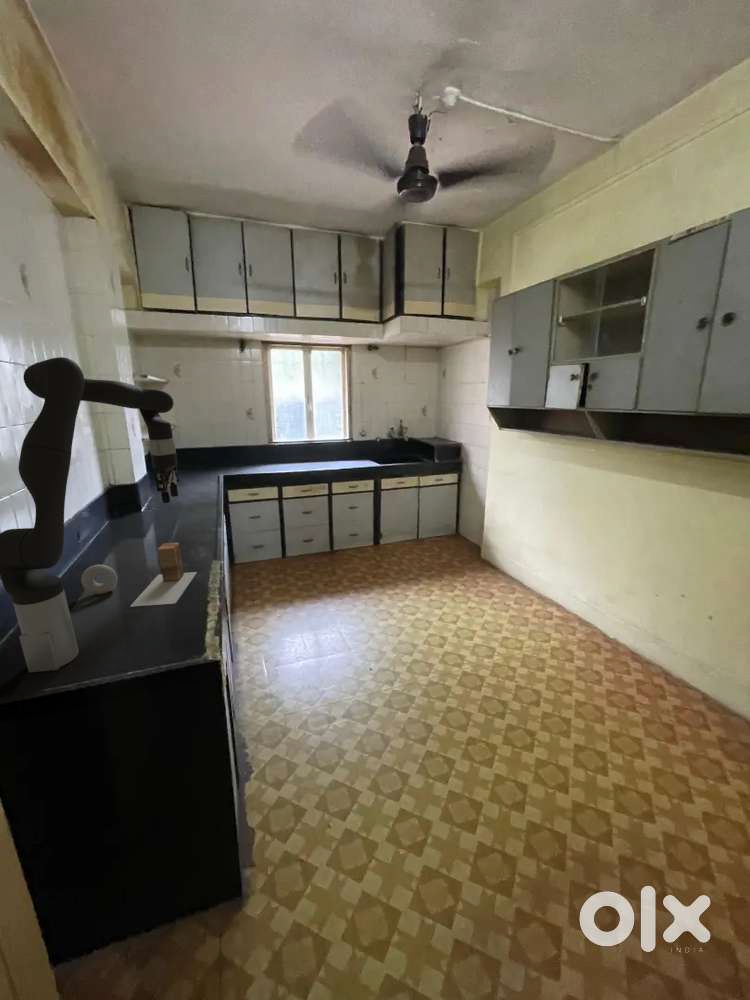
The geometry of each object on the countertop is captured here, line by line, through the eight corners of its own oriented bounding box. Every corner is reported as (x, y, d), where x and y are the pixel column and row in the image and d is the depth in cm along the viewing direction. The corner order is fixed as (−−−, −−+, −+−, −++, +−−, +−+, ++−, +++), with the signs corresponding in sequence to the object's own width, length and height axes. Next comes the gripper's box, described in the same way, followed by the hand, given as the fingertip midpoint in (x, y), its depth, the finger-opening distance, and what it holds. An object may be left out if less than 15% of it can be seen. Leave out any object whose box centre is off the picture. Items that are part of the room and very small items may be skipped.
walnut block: (179, 581, 136) (173, 547, 133) (163, 582, 136) (157, 548, 133) (183, 574, 141) (179, 542, 138) (168, 575, 141) (163, 543, 137)
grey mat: (175, 604, 122) (175, 603, 122) (129, 608, 121) (129, 606, 120) (197, 573, 143) (197, 572, 143) (158, 575, 142) (158, 574, 142)
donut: (82, 598, 127) (76, 569, 124) (87, 593, 130) (80, 564, 127) (118, 593, 129) (112, 565, 127) (121, 589, 132) (116, 560, 130)
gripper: (159, 449, 141) (166, 494, 146) (142, 456, 128) (151, 505, 132) (182, 448, 142) (188, 493, 147) (167, 455, 129) (175, 504, 133)
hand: (170, 499), depth 139 cm, fingers open, 7 cm apart
